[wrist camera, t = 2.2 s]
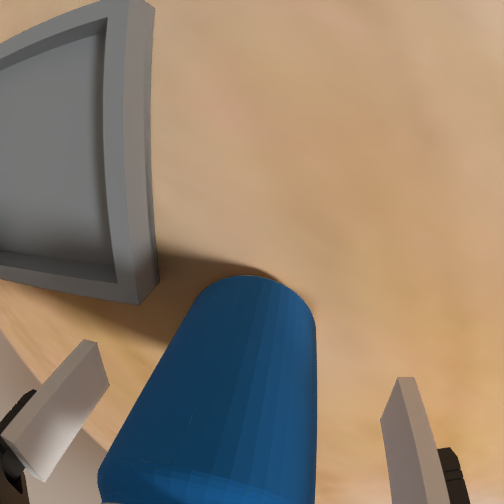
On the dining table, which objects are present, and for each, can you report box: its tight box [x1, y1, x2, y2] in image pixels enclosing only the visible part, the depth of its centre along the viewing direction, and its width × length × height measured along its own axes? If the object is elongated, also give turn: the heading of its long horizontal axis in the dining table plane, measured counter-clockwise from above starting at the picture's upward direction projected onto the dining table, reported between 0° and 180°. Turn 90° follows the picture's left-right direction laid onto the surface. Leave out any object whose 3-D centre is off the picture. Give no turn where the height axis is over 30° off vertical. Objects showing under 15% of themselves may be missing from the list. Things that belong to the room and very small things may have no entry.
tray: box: [0, 0, 160, 305], centre depth 14 cm, size 14×14×2 cm
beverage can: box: [98, 275, 317, 504], centre depth 11 cm, size 6×6×12 cm
